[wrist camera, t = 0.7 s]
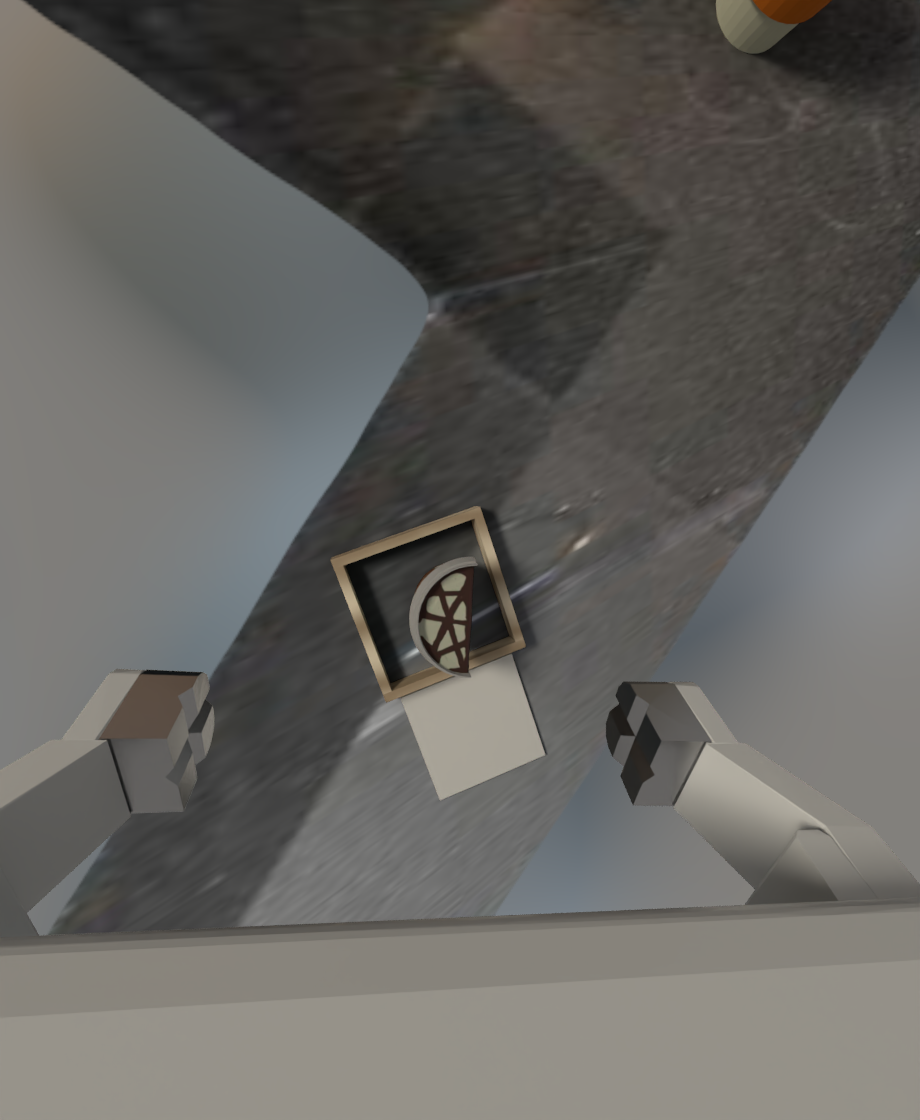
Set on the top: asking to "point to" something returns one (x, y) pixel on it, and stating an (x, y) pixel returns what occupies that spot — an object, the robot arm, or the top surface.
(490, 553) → the frame
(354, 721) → the top surface
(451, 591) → the food container
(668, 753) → the robot arm
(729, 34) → the reusable coffee cup
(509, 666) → the mat
